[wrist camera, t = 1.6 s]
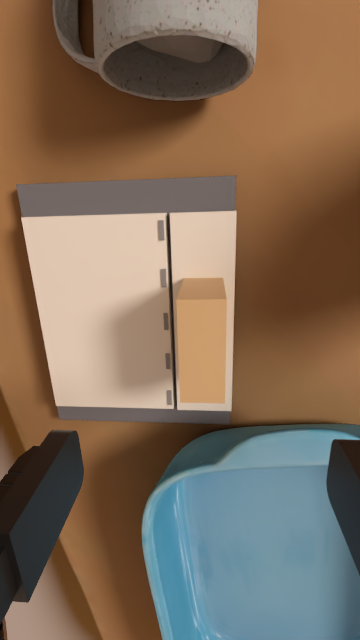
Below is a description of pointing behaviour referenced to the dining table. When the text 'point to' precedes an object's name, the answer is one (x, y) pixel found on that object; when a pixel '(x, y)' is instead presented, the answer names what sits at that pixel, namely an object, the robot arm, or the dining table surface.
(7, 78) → the dining table surface
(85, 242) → the board
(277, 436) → the casserole dish
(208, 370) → the stub
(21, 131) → the dining table surface
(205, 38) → the ceramic mug
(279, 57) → the dining table surface
